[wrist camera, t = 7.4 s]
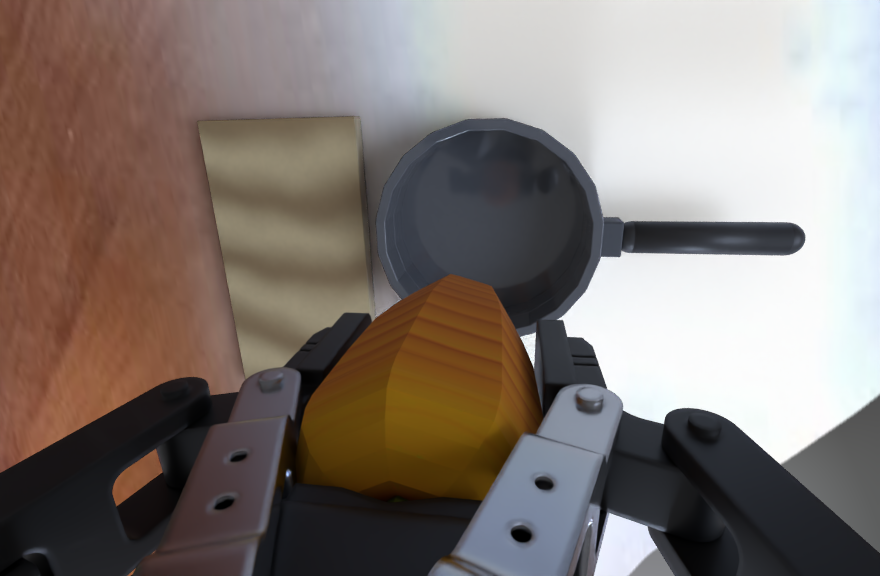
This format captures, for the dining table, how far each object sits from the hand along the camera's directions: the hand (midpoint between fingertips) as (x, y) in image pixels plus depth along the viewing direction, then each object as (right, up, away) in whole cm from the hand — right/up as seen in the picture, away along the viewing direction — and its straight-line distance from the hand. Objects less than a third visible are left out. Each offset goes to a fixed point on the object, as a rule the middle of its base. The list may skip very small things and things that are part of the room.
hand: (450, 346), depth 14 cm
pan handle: (+14, +5, +13) cm, 20 cm away
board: (-11, +4, +21) cm, 24 cm away
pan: (+3, +6, +17) cm, 19 cm away
